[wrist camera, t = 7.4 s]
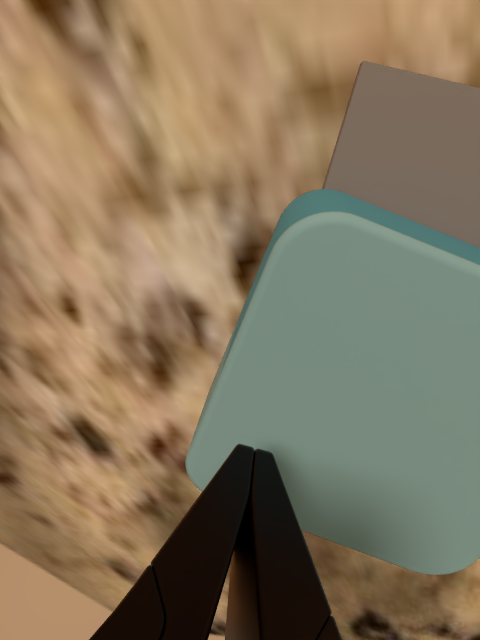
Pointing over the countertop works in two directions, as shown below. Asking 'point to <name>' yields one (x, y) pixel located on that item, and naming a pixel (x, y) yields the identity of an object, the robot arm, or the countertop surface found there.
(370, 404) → the data package
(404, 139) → the mat
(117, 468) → the countertop surface
